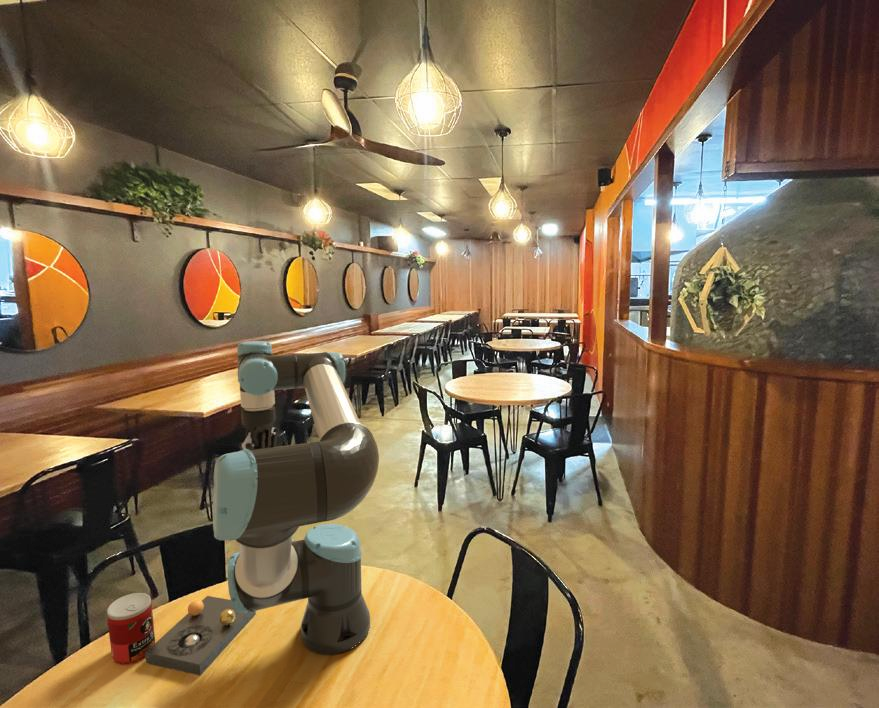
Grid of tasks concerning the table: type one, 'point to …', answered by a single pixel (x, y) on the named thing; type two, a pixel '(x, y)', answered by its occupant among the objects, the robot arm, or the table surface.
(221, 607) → the bearing plate
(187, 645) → the steel ball
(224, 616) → the brass ball
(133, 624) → the canned food
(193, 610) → the orange ball
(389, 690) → the table surface
